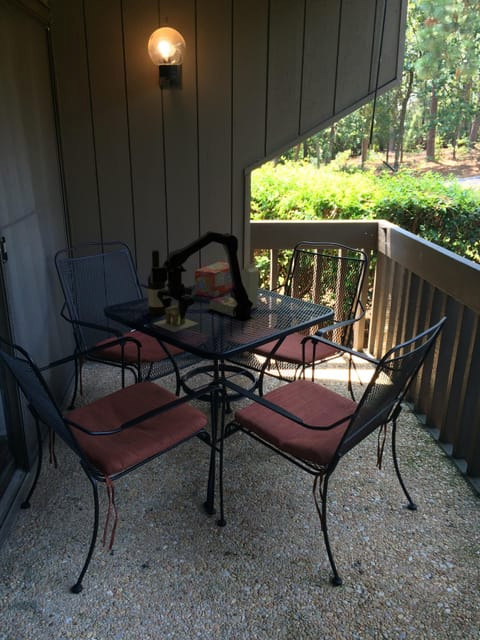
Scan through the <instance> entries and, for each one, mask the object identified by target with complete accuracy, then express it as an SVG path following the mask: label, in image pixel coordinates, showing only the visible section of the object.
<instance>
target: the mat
mask: <svg viewBox="0 0 480 640" xmlns="http://www.w3.org/2000/svg"><path fill="white" fill-rule="evenodd" d="M178 320H179V321H178V326H172V317H171V323H170V324H167V323H166V318H165V319H162V320H159V321H156V322H153V324H152V325H155V326H157V327H160V328H162V329H164V330H167V331H170V332H172V333H176V332H180V331H183V330H186V329H188V328H189V329H190V328H191V327H195V326H199V323H198V322H196V321H192V320H190V319H187V318H185V324H181V323H180V315H178Z"/></svg>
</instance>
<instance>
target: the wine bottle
mask: <svg viewBox="0 0 480 640" xmlns="http://www.w3.org/2000/svg"><path fill="white" fill-rule="evenodd" d="M151 262H152V264H151V265H152V266H151V267H160V252H159V249H152V251H151ZM150 274H151V272H150V273H149V275H148V277H147V289H148V290H147V291H148V292H147V293H148V294H147V295H148V296H147V297H148V314H150V316H153V317H155V316H159V317H160V316H163V315H166V311H165V308H164V306H163V304H162V302H161V301H160V300H159V298H157V293H158V291H161V290H165V289H166V282H165V283H151V279H150Z"/></svg>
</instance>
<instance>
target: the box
mask: <svg viewBox="0 0 480 640" xmlns="http://www.w3.org/2000/svg"><path fill="white" fill-rule="evenodd" d="M232 285H233V283H232V278H231V273H230V268H229V263H228V262H223V261H217V262H215V263H212V264H210V265H206V266H203V267H202V268H198V269H195V270H194V294H195V295H197V296H204V297H210V298H218V297H219V296H221V295H224V294H225V293H227V292H230V291H229V288H232Z"/></svg>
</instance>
